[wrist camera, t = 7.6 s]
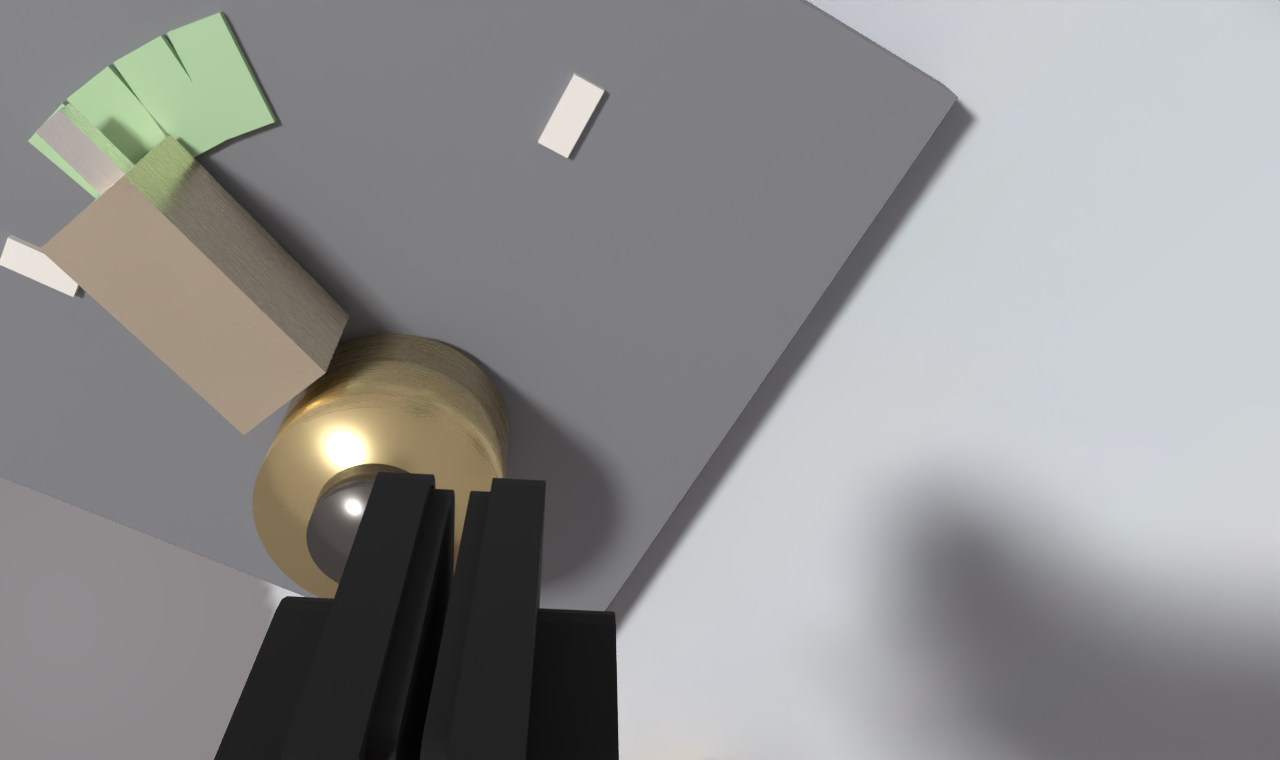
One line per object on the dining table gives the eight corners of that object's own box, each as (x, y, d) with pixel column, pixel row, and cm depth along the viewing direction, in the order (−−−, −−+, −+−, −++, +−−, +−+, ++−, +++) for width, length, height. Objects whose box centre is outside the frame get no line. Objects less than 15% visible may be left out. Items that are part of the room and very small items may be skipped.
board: (549, 663, 28) (548, 696, 27) (-245, 344, 24) (-282, 370, 23) (942, 84, 22) (960, 99, 21) (-24, -506, 17) (-61, -522, 16)
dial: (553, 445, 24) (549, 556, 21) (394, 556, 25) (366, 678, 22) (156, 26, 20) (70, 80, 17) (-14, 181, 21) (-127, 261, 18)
